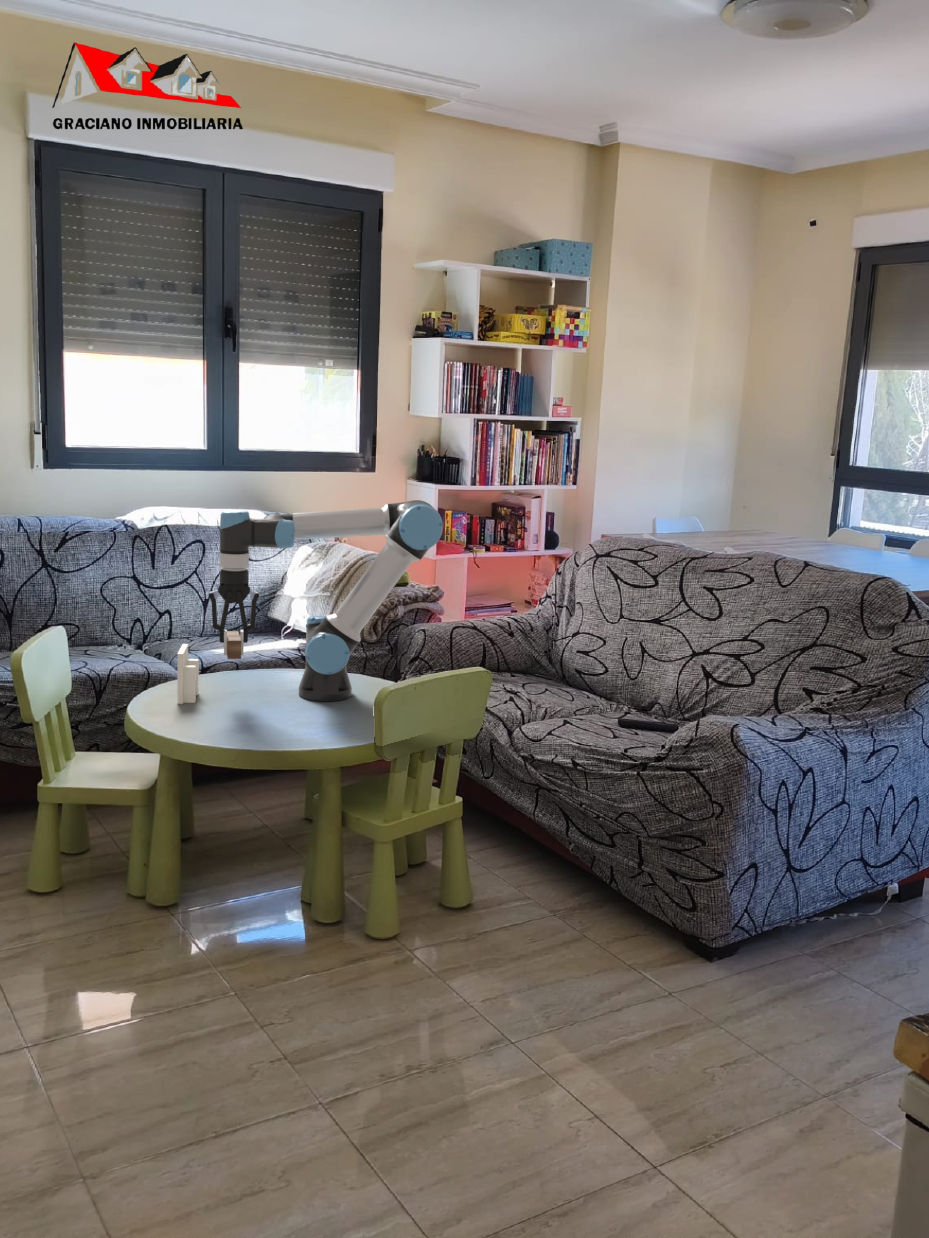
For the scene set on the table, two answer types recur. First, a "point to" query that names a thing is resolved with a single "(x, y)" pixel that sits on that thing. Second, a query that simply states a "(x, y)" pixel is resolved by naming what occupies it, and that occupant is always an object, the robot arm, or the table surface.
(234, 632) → the brown rectangular block
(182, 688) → the white twin-rail base
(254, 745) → the table surface
